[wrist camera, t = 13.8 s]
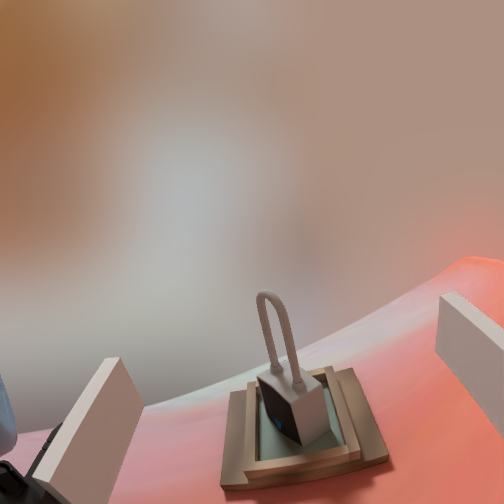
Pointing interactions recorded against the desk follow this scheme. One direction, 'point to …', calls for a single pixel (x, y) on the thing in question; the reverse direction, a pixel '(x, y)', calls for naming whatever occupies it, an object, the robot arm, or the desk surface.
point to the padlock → (290, 384)
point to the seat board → (291, 453)
